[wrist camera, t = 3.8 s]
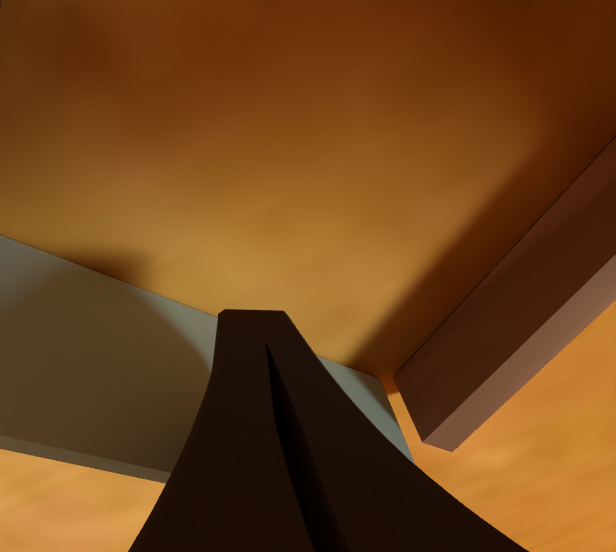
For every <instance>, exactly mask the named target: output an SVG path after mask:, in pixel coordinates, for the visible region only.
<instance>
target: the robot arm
mask: <svg viewBox="0 0 616 552" xmlns="http://www.w3.org/2000/svg"><path fill="white" fill-rule="evenodd" d="M128 552H529V551H527V550H526V549H524V548H523V547H521V546H520V545H518V544H517V543H515V542H514V541H513V540H511V539H510V538H508V537H507V536H506V535H504V534H503V533H501V532H500V531H499V530H497V529H496V528H494V527H493V526H491V525H490V524H489V523H487V522H486V521H484V520H483V519H482V518H480V517H479V516H478V515H476V514H475V513H474V512H472V511H471V510H470V509H468V508H467V507H466V506H464V505H463V504H462V503H461V502H459V501H458V500H457V499H456V498H454V497H453V496H452V495H451V494H449V493H448V492H447V491H446V490H445V489H443V488H442V487H441V486H440V485H438V484H437V483H436V482H435V481H434V480H432V479H431V478H430V477H429V476H427V475H426V474H425V473H424V472H423V471H422V470H421V469H419V468H418V467H417V466H416V465H415V464H414V463H413V462H412V461H410V460H409V459H408V458H407V457H406V456H405V455H404V454H403V453H402V452H401V451H400V450H399V449H398V448H397V447H396V446H395V445H394V444H393V443H391V442H390V441H389V440H388V439H387V438H386V437H385V436H384V435H383V434H382V433H381V432H380V431H379V430H378V429H377V427H376V426H375V425H374V424H373V423H372V422H371V421H370V420H369V419H368V418H367V417H366V416H365V414H364V413H363V412H362V411H361V410H360V409H359V408H358V407H357V406H356V404H355V403H354V402H353V401H352V400H351V399H350V397H349V396H348V395H347V394H346V393H345V391H344V390H343V389H342V388H341V387H340V385H339V384H338V383H337V382H336V380H335V379H334V378H333V377H332V375H331V374H330V373H329V372H328V370H327V369H326V368H325V367H324V365H323V364H322V363H321V361H320V360H319V359H318V357H317V356H316V355H315V353H314V352H313V350H312V349H311V348H310V346H309V345H308V344H307V342H306V341H305V339H304V338H303V337H302V335H301V334H300V332H299V331H298V329H297V328H296V326H295V325H294V324H293V322H292V321H291V319H290V318H289V316H288V315H287V314H286V313H285V312H284V311H273V310H235V309H225V310H223V311H222V312H220V313H219V314H218V322H217V330H216V339H215V347H214V356H213V365H212V372H211V375H210V379H209V383H208V386H207V389H206V392H205V395H204V397H203V400H202V403H201V406H200V408H199V411H198V414H197V416H196V419H195V422H194V424H193V427H192V429H191V432H190V434H189V436H188V439H187V441H186V443H185V446H184V448H183V450H182V452H181V454H180V456H179V459H178V461H177V463H176V465H175V467H174V469H173V471H172V473H171V475H170V477H169V479H168V481H167V483H166V485H165V487H164V489H163V491H162V493H161V495H160V497H159V499H158V501H157V502H156V504H155V506H154V508H153V510H152V512H151V513H150V515H149V517H148V519H147V521H146V522H145V524H144V526H143V528H142V529H141V531H140V533H139V534H138V536H137V538H136V539H135V541H134V542H133V544H132V546H131V547H130V549H129V551H128Z"/></svg>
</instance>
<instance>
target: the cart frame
mask: <svg viewBox="0 0 616 552" xmlns="http://www.w3.org/2000/svg"><path fill="white" fill-rule="evenodd" d="M1 3H2V0H0V5H1ZM615 300H616V137H615V138H614V139H613V140H612V141H611V142H610V144H609V145H608V146H607V147H606V148H605V149H604V150H603V151H602V152H601V153H600V154H599V155H598V157H597V158H596V159H595V160H594V161H593V162H592V163H591V164H590V165H589V166H588V167H587V168H586V170H585V171H584V172H583V173H582V174H581V175H580V176H579V177H578V178H577V179H576V180H575V181H574V182H573V184H572V185H571V186H570V187H569V188H568V189H567V190H566V191H565V192H564V193H563V194H562V195H561V197H560V198H559V199H558V200H557V201H556V202H555V203H554V204H553V205H552V206H551V207H550V208H549V210H548V211H547V212H546V213H545V214H544V215H543V216H542V217H541V218H540V219H539V220H538V221H537V223H536V224H535V225H534V226H533V227H532V228H531V229H530V230H529V231H528V232H527V233H526V234H525V235H524V237H523V238H522V239H521V240H520V241H519V242H518V243H517V244H516V245H515V246H514V247H513V248H512V250H511V251H510V252H509V253H508V254H507V255H506V256H505V257H504V258H503V259H502V260H501V261H500V263H499V264H498V265H497V266H496V267H495V268H494V269H493V270H492V271H491V272H490V273H489V274H488V276H487V277H486V278H485V279H484V280H483V281H482V282H481V283H480V284H479V285H478V286H477V287H476V288H475V290H474V291H473V292H472V293H471V294H470V295H469V296H468V297H467V298H466V299H465V300H464V301H463V303H462V304H461V305H460V306H459V307H458V308H457V309H456V310H455V311H454V312H453V313H452V314H451V316H450V317H449V318H448V319H447V320H446V321H445V322H444V323H443V324H442V325H441V326H440V327H439V329H438V330H437V331H436V332H435V333H434V334H433V335H432V336H431V337H430V338H429V339H428V340H427V342H426V343H425V344H424V345H423V346H422V347H421V348H420V349H419V350H418V351H417V352H416V353H415V354H414V356H413V357H412V358H411V359H410V360H409V361H408V362H407V363H406V364H405V365H404V366H403V367H402V369H401V370H400V371H399V372H398V373H397V374H396V375H395V376H394V377H393V379H394V381H395V383H396V385H397V387H398V390H399V392H400V394H401V396H402V398H403V401H404V403H405V405H406V407H407V410H408V412H409V414H410V416H411V418H412V421H413V423H414V425H415V427H416V429H417V432H418V434H419V436H420V438H421V441H422V443H426V444H429V445H432V446H435V447H438V448H441V449H444V450H447V451H450V452H453V451H454V450H455V449H456V448H457V447H458V446H459V445H460V444H461V443H463V442H464V441H465V440H466V439H467V438H468V437H469V436H470V435H471V434H472V433H473V432H474V431H475V430H476V429H478V428H479V427H480V426H481V425H482V424H483V423H484V422H485V421H486V420H487V419H488V418H489V417H490V416H492V415H493V414H494V413H495V412H496V411H497V410H498V409H499V408H500V407H501V406H502V405H503V404H504V403H506V402H507V401H508V400H509V399H510V398H511V397H512V396H513V395H514V394H515V393H516V392H517V391H518V390H519V389H521V388H522V387H523V386H524V385H525V384H526V383H527V382H528V381H529V380H530V379H531V378H532V377H533V376H535V375H536V374H537V373H538V372H539V371H540V370H541V369H542V368H543V367H544V366H545V365H546V364H547V363H548V362H550V361H551V360H552V359H553V358H554V357H555V356H556V355H557V354H558V353H559V352H560V351H561V350H562V349H564V348H565V347H566V346H567V345H568V344H569V343H570V342H571V341H572V340H573V339H574V338H575V337H576V336H577V335H579V334H580V333H581V332H582V331H583V330H584V329H585V328H586V327H587V326H588V325H589V324H590V323H591V322H593V321H594V320H595V319H596V318H597V317H598V316H599V315H600V314H601V313H602V312H603V311H604V310H605V309H606V308H608V307H609V306H610V305H611V304H612V303H613V302H614V301H615Z"/></svg>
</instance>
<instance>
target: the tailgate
mask: <svg viewBox="0 0 616 552" xmlns="http://www.w3.org/2000/svg"><path fill="white" fill-rule="evenodd" d="M217 322H218V318H217V317H215V316H212V315H209V314H207V313H204V312H201V311H199V310H196V309H194V308H191V307H188V306H186V305H183V304H180V303H178V302H175V301H172V300H170V299H167V298H165V297H162V296H159V295H157V294H154V293H151V292H149V291H146V290H144V289H141V288H138V287H136V286H133V285H130V284H128V283H125V282H123V281H120V280H117V279H115V278H112V277H109V276H107V275H104V274H101V273H99V272H96V271H94V270H91V269H88V268H86V267H83V266H80V265H78V264H75V263H73V262H70V261H67V260H65V259H62V258H59V257H57V256H54V255H51V254H49V253H46V252H44V251H41V250H38V249H36V248H33V247H30V246H28V245H25V244H23V243H20V242H17V241H15V240H12V239H9V238H7V237H4V236H2V235H0V449H4V450H9V451H14V452H18V453H23V454H28V455H33V456H37V457H42V458H47V459H52V460H56V461H61V462H66V463H71V464H76V465H80V466H85V467H90V468H95V469H99V470H104V471H109V472H114V473H118V474H123V475H128V476H133V477H138V478H142V479H147V480H152V481H157V482H161V483H167V481H168V479H169V477H170V475H171V473H172V471H173V469H174V467H175V465H176V463H177V461H178V459H179V456H180V454H181V452H182V450H183V448H184V446H185V443H186V441H187V439H188V436H189V434H190V432H191V429H192V427H193V424H194V422H195V419H196V416H197V414H198V411H199V408H200V406H201V403H202V400H203V397H204V395H205V392H206V389H207V386H208V383H209V379H210V375H211V372H212V365H213V356H214V347H215V339H216V330H217ZM316 356H317V355H316ZM317 357H318V359H319V360H320V361H321V363H322V364H323V365H324V367H325V368H326V369H327V370H328V372H329V373H330V374H331V375H332V377H333V378H334V379H335V380H336V382H337V383H338V384H339V385H340V387H341V388H342V389H343V390H344V391H345V393H346V394H347V395H348V396H349V397H350V399H351V400H352V401H353V402H354V403H355V404H356V406H357V407H358V408H359V409H360V410H361V411H362V412H363V413H364V414H365V416H366V417H367V418H368V419H369V420H370V421H371V422H372V423H373V424H374V425H375V426H376V427H377V429H378V430H379V431H380V432H381V433H382V434H383V435H384V436H385V437H386V438H387V439H388V440H389V441H390V442H391V443H393V444H394V445H395V446H396V447H397V448H398V449H399V450H400V451H401V452H402V453H403V454H404V455H405V456H406V457H407V458H408V459H409V460H410V461H412V462H413V463H414V460H413V458H412V455H411V453H410V451H409V448H408V446H407V443H406V441H405V438H404V436H403V434H402V431H401V429H400V426H399V424H398V421H397V419H396V417H395V414H394V412H393V409H392V407H391V404H390V402H389V400H388V397H387V395H386V392H385V390H384V387H383V385H382V383H381V380H380V379H378V378H375V377H372V376H370V375H367V374H365V373H362V372H359V371H357V370H354V369H351V368H349V367H346V366H343V365H341V364H338V363H336V362H333V361H330V360H328V359H325V358H322V357H320V356H317ZM414 464H415V463H414Z"/></svg>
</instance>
